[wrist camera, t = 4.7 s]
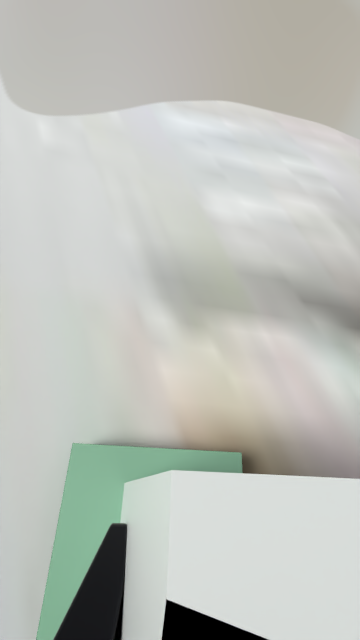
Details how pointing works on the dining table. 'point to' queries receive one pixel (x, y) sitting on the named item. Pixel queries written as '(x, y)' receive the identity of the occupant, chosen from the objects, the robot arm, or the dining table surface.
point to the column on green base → (210, 546)
